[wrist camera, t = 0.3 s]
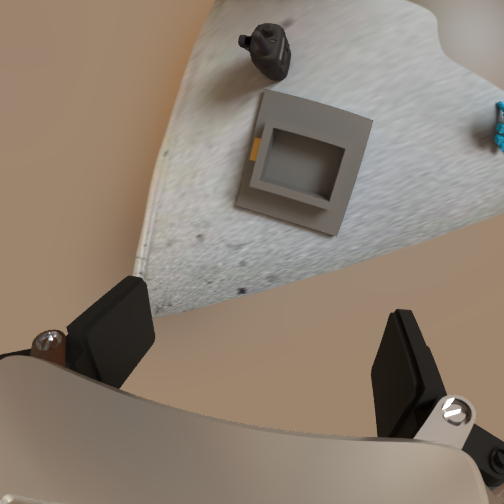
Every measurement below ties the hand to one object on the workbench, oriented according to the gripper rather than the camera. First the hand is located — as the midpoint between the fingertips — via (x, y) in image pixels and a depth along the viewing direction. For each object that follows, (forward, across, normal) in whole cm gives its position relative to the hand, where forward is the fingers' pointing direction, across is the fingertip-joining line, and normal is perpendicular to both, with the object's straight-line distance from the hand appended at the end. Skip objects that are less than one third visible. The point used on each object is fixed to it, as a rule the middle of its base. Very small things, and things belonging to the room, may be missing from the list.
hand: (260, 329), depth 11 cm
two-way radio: (+30, +4, -17) cm, 35 cm away
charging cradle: (+30, 0, -4) cm, 30 cm away
